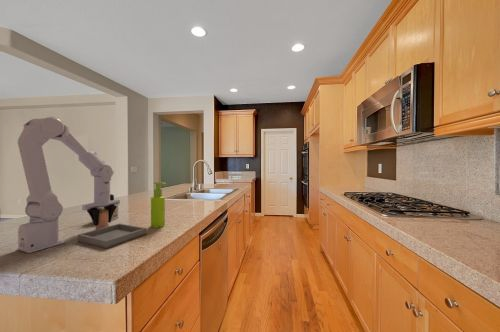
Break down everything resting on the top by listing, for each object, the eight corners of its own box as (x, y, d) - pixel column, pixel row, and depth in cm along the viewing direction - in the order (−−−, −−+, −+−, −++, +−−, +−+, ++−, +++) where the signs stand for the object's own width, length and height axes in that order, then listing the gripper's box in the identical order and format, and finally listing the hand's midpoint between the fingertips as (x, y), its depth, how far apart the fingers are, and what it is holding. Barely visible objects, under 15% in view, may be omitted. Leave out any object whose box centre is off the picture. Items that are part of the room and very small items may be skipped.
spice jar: (100, 229, 89) (100, 211, 89) (93, 228, 91) (93, 210, 91) (110, 226, 94) (110, 209, 94) (104, 225, 96) (104, 208, 95)
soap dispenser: (161, 227, 95) (161, 182, 94) (147, 226, 96) (147, 182, 96) (169, 224, 100) (169, 181, 100) (156, 223, 102) (156, 181, 102)
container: (108, 222, 103) (108, 195, 103) (92, 222, 103) (92, 195, 103) (118, 218, 111) (118, 193, 110) (104, 218, 111) (104, 193, 111)
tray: (106, 248, 71) (106, 241, 71) (77, 241, 78) (77, 234, 78) (146, 234, 86) (146, 228, 86) (119, 229, 93) (119, 223, 92)
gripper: (112, 190, 101) (112, 218, 101) (77, 193, 87) (77, 227, 87) (122, 190, 98) (122, 220, 98) (88, 195, 84) (88, 229, 85)
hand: (102, 223), depth 92 cm, fingers closed on spice jar, 5 cm apart
